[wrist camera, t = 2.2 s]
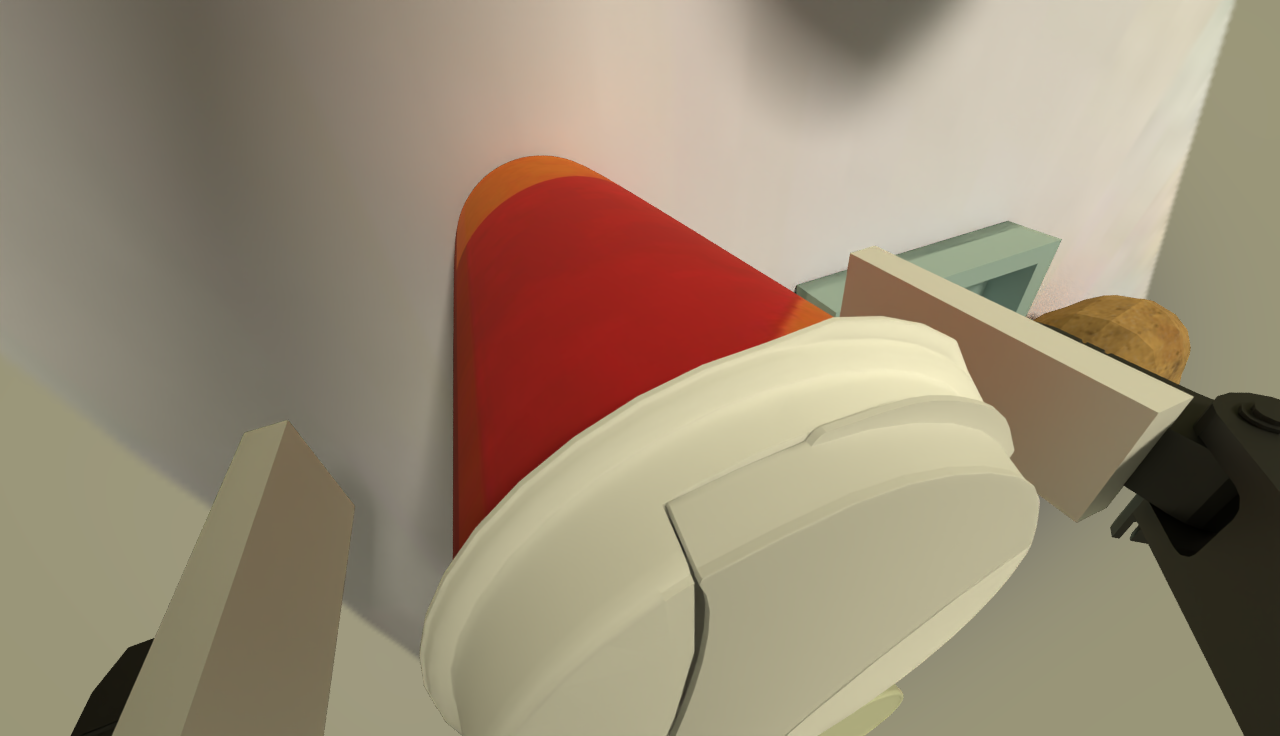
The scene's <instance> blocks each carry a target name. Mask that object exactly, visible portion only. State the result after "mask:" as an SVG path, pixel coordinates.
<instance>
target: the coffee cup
mask: <svg viewBox="0 0 1280 736" xmlns="http://www.w3.org/2000/svg"><path fill="white" fill-rule="evenodd" d="M1013 452H1014V446H1013V441H1012V437H1011V432H1010V428H1009V425H1008V423H1007V420H1006V418H1005V417H1004V416H1002V415H1001V414H1000V413H999V412H998V411H997V410H996V409H995V408H994V407H993V406H992V405H989V404H987V403H984V402H983V400H982V398H981V396H980V394H979V392H978V390H977V388H976V386H975V384H974V382H973V380H972V378H971V376H970V374H969V372H968V370H967V367H966V364H965V362H964V359H963V356H962V354H961V351H960V348H959V346H958V343H957V341H956V340H954V339H953V338H951V337H949V336H947V335H945V334H943V333H941V332H939V331H937V330H935V329H933V328H931V327H928V326H926V325H924V324H922V323H917V322H912V321H906V320H901V319H896V318H890V317H885V316H866V317H833V316H831V315H830V314H828V313H826V312H825V311H823V310H821V309H820V308H818V307H817V306H815V305H813V304H812V303H810V302H808V301H807V300H805V299H804V298H802V297H800V296H799V295H797V294H795V293H794V292H792V291H791V290H789V289H787V288H786V287H784V286H782V285H781V284H779V283H778V282H776V281H774V280H773V279H771V278H769V277H768V276H766V275H765V274H763V273H761V272H760V271H758V270H756V269H755V268H753V267H752V266H750V265H748V264H747V263H745V262H743V261H742V260H740V259H739V258H737V257H735V256H734V255H732V254H730V253H729V252H727V251H726V250H724V249H722V248H721V247H719V246H718V245H716V244H714V243H713V242H711V241H709V240H708V239H706V238H705V237H703V236H701V235H700V234H698V233H696V232H695V231H693V230H692V229H690V228H688V227H687V226H685V225H683V224H682V223H680V222H679V221H677V220H675V219H674V218H672V217H670V216H669V215H667V214H665V213H664V212H662V211H661V210H659V209H657V208H656V207H654V206H652V205H651V204H649V203H647V202H646V201H644V200H642V199H641V198H639V197H638V196H636V195H634V194H633V193H631V192H629V191H628V190H626V189H624V188H623V187H621V186H619V185H617V184H616V183H614V182H612V181H611V180H609V179H607V178H606V177H604V176H602V175H600V174H598V173H596V172H595V171H593V170H591V169H589V168H587V167H585V166H583V165H581V164H578V163H576V162H574V161H571V160H568V159H564V158H560V157H554V156H529V157H523V158H519V159H516V160H513V161H510V162H508V163H505V164H503V165H501V166H500V167H498V168H496V169H495V170H493V171H492V172H490V173H489V174H488V175H487V176H485V177H484V178H483V179H482V180H481V181H480V182H479V183H478V184H477V186H476V187H475V188H474V189H473V191H472V192H471V193H470V195H469V197H468V198H467V200H466V202H465V204H464V206H463V209H462V211H461V214H460V217H459V221H458V226H457V232H456V241H455V257H454V333H453V561H452V562H451V564H450V565H449V567H448V568H447V570H446V571H445V572H444V574H443V576H442V579H441V581H440V583H439V585H438V588H437V590H436V592H435V594H434V597H433V599H432V601H431V603H430V606H429V608H428V610H427V612H426V615H425V621H424V627H423V633H422V639H421V645H420V663H421V669H422V676H423V682H424V687H425V688H426V690H427V692H428V694H429V695H430V697H431V699H432V701H433V702H434V704H435V706H436V708H437V709H438V710H439V711H440V713H441V715H442V717H443V718H444V720H445V722H446V723H447V724H449V725H450V726H451V727H453V728H454V729H455V730H456V731H457V732H458V733H460V734H461V735H462V736H818V735H820V734H821V733H823V732H824V731H826V730H828V729H829V728H831V727H832V726H834V725H835V724H837V723H839V722H840V721H842V720H843V719H845V718H846V717H848V716H849V715H851V714H852V713H854V712H855V711H857V710H858V709H860V708H861V707H863V706H864V705H866V704H867V703H868V702H870V701H871V700H873V699H874V698H876V697H877V696H879V695H880V694H881V693H883V692H884V691H885V690H887V689H888V688H889V687H891V686H892V685H894V684H895V683H896V682H898V681H899V680H900V679H902V678H903V677H904V676H906V675H907V674H908V673H909V672H910V671H912V670H913V669H914V668H916V667H917V666H918V665H919V664H921V663H922V662H923V661H924V660H926V659H927V658H928V657H929V656H931V655H932V654H933V653H934V652H935V651H936V650H938V649H939V648H940V647H941V646H942V645H943V644H945V643H946V642H947V641H948V640H949V639H950V638H952V637H953V636H954V635H955V634H956V633H957V632H958V631H959V630H960V629H961V628H962V627H963V626H964V625H965V624H966V623H968V622H969V620H971V619H972V618H973V617H974V616H975V615H976V614H977V613H978V612H979V611H980V610H981V609H982V608H983V607H984V606H985V604H986V603H987V602H988V601H989V600H990V599H991V598H992V597H993V596H994V595H995V594H996V593H997V591H998V590H999V589H1000V588H1001V587H1002V586H1003V584H1004V583H1005V582H1006V581H1007V580H1008V578H1009V577H1010V576H1011V575H1012V573H1013V572H1014V570H1015V569H1016V568H1017V566H1018V565H1019V564H1020V562H1021V561H1022V559H1023V558H1024V557H1025V555H1026V554H1027V552H1028V550H1029V548H1030V546H1031V544H1032V541H1033V537H1034V533H1035V530H1036V526H1037V520H1038V512H1039V505H1040V500H1039V497H1038V495H1037V492H1036V489H1035V487H1034V486H1033V485H1032V484H1031V483H1030V482H1028V481H1027V480H1026V479H1025V478H1024V477H1023V476H1022V474H1021V473H1020V472H1019V470H1018V469H1017V468H1016V466H1015V465H1014V464H1013V462H1012V461H1011V459H1010V457H1011V455H1012V454H1013Z"/></svg>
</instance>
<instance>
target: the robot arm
mask: <svg viewBox="0 0 1280 736" xmlns="http://www.w3.org/2000/svg"><path fill="white" fill-rule="evenodd" d="M866 316H885V317H890V318H896V319H901V320H906V321H912V322H917V323H922V324H924V325H926V326H928V327H931V328H933V329H935V330H937V331H939V332H941V333H943V334H945V335H947V336H949V337H951V338H953V339H954V340H956V341H957V343H958V346H959V348H960V351H961V354H962V356H963V359H964V362H965V364H966V367H967V370H968V372H969V374H970V376H971V378H972V380H973V382H974V384H975V386H976V388H977V390H978V392H979V394H980V396H981V398H982V400H983V402H984V403H987V404H989V405H992V406H993V407H994V408H995V409H996V410H997V411H998V412H999V413H1000V414H1001V415H1002V416H1004V417H1005V418H1006V420H1007V423H1008V425H1009V428H1010V432H1011V437H1012V441H1013V446H1014V452H1013V454H1012V455H1011V457H1010V459H1011V461H1012V462H1013V464H1014V465H1015V466H1016V468H1017V469H1018V470H1019V472H1020V473H1021V474H1022V476H1023V477H1024V478H1025V479H1026V480H1027V481H1028V482H1030V483H1031V484H1032V485H1033V486H1034V487H1035V489H1036V492H1037V494H1039V495H1040V496H1041V497H1043V498H1044V499H1045V500H1047V501H1048V502H1049V503H1051V504H1052V505H1053V506H1055V507H1056V508H1057V509H1059V510H1060V511H1061V512H1063V513H1064V514H1065V515H1067V516H1068V517H1069V518H1071V519H1072V520H1073V521H1075V522H1076V523H1077V522H1079V521H1081V520H1083V519H1085V518H1087V517H1089V516H1091V515H1093V514H1095V513H1097V512H1099V511H1101V510H1103V509H1105V508H1107V507H1108V505H1109V504H1110V503H1111V501H1112V500H1113V499H1114V498H1115V496H1116V495H1117V494H1118V492H1119V491H1120V490H1121V489H1122V487H1123V486H1125V487H1127V488H1128V489H1130V490H1132V491H1133V492H1135V493H1136V495H1135V497H1134V498H1133V499H1132V500H1131V501H1130V503H1129V504H1128V505H1127V506H1126V508H1125V509H1124V510H1123V511H1122V512H1121V514H1120V515H1119V516H1118V517H1117V519H1116V520H1115V521H1114V523H1113V524H1112V526H1111V527H1110V528H1111V534H1112V537H1115V538H1120V537H1121V536H1122V535H1123V534H1124V533H1125V531H1126V530H1127V529H1128V528H1129V527H1130V526H1131V525H1132V523H1133V522H1137V523H1138V524H1139V525H1138V527H1137V528H1136V529H1135V530H1134V531H1133V532H1132V534H1131V537H1130V540H1131V541H1135V542H1141V543H1146V544H1149V546H1150V548H1151V550H1152V552H1153V554H1154V556H1155V558H1156V560H1157V562H1158V564H1159V566H1160V568H1161V570H1162V572H1163V574H1164V576H1165V578H1166V580H1167V582H1168V584H1169V586H1170V588H1171V590H1172V592H1173V594H1174V596H1175V598H1176V600H1177V602H1178V604H1179V606H1180V608H1181V610H1182V612H1183V614H1184V616H1185V618H1186V620H1187V622H1188V624H1189V626H1190V628H1191V630H1192V632H1193V634H1194V636H1195V638H1196V640H1197V642H1198V644H1199V646H1200V648H1201V650H1202V652H1203V654H1204V656H1205V658H1206V660H1207V662H1208V664H1209V666H1210V668H1211V670H1212V672H1213V674H1214V676H1215V678H1216V680H1217V682H1218V684H1219V686H1220V688H1221V690H1222V692H1223V694H1224V696H1225V698H1226V700H1227V702H1228V704H1229V706H1230V708H1231V710H1232V712H1233V714H1234V716H1235V718H1236V720H1237V722H1238V724H1239V726H1240V728H1241V730H1242V732H1243V734H1244V736H1280V400H1279V399H1276V398H1273V397H1269V396H1263V395H1258V394H1252V393H1227V394H1224V395H1220V396H1217V397H1216V399H1215V400H1213V399H1210V398H1208V397H1205V396H1203V395H1200V394H1198V393H1196V392H1193V391H1191V390H1189V389H1187V388H1185V387H1183V386H1181V385H1178V384H1176V383H1174V382H1172V381H1170V380H1168V379H1166V378H1163V377H1161V376H1159V375H1157V374H1155V373H1153V372H1151V371H1149V370H1146V369H1144V368H1142V367H1140V366H1138V365H1136V364H1134V363H1131V362H1129V361H1127V360H1125V359H1123V358H1121V357H1119V356H1116V355H1114V354H1112V353H1110V354H1106V353H1105V350H1104V349H1101V348H1099V347H1097V346H1095V345H1093V344H1091V343H1089V342H1087V343H1083V342H1082V339H1080V338H1078V337H1076V336H1074V335H1071V334H1069V333H1067V332H1065V331H1063V330H1061V329H1059V328H1056V327H1054V326H1050V325H1047V324H1043V323H1040V322H1036V321H1033V320H1031V319H1029V318H1026V317H1024V316H1022V315H1020V314H1018V313H1016V312H1014V311H1012V310H1010V309H1007V308H1005V307H1003V306H1001V305H999V304H997V303H995V302H993V301H991V300H988V299H986V298H984V297H982V296H980V295H978V294H976V293H974V292H972V291H969V290H967V289H965V288H963V287H961V286H959V285H957V284H955V283H953V282H950V281H948V280H946V279H944V278H942V277H940V276H938V275H936V274H934V273H931V272H929V271H927V270H925V269H923V268H921V267H919V266H917V265H915V264H912V263H910V262H908V261H906V260H904V259H902V258H900V257H898V256H895V255H893V254H891V253H889V252H887V251H885V250H883V249H881V248H879V247H876V246H873V247H869V248H866V249H863V250H859V251H856V252H852V253H850V257H849V263H848V269H847V275H846V281H845V287H844V293H843V300H842V306H841V312H840V317H866ZM354 510H355V506H354V504H353V503H352V502H351V501H350V499H349V498H348V497H347V495H346V494H345V493H344V491H343V490H342V489H341V488H340V486H339V485H338V484H337V482H336V481H335V480H334V479H333V477H332V476H331V475H330V473H329V472H328V471H327V470H326V468H325V467H324V466H323V464H322V463H321V462H320V461H319V459H318V458H317V457H316V455H315V454H314V453H313V451H312V450H311V449H310V448H309V446H308V445H307V444H306V442H305V441H304V440H303V439H302V437H301V436H300V435H299V433H298V432H297V431H296V430H295V428H294V427H293V426H292V424H291V423H290V422H289V421H288V420H286V421H282V422H279V423H275V424H272V425H269V426H265V427H262V428H259V429H255V430H252V431H248V432H245V433H244V435H243V437H242V439H241V442H240V444H239V446H238V448H237V451H236V453H235V455H234V458H233V460H232V462H231V464H230V467H229V469H228V471H227V474H226V476H225V478H224V480H223V483H222V485H221V487H220V490H219V492H218V494H217V496H216V499H215V501H214V503H213V506H212V508H211V510H210V513H209V515H208V517H207V519H206V522H205V524H204V526H203V529H202V531H201V533H200V536H199V538H198V540H197V542H196V545H195V547H194V549H193V551H192V554H191V556H190V559H189V561H188V563H187V565H186V567H185V570H184V572H183V574H182V577H181V579H180V581H179V583H178V586H177V589H176V590H175V593H174V595H173V597H172V599H171V602H170V604H169V606H168V609H167V611H166V613H165V615H164V618H163V620H162V622H161V625H160V627H159V629H158V631H157V634H156V636H155V638H153V639H150V640H148V641H145V642H142V643H139V644H137V645H134V646H131V647H129V648H128V649H127V650H126V651H125V652H124V654H123V655H122V656H121V657H120V659H119V660H118V661H117V663H116V664H115V665H114V666H113V667H112V668H111V670H110V671H109V672H108V673H107V675H106V676H105V677H104V678H103V680H102V681H101V682H100V683H99V685H98V686H97V687H96V688H95V690H94V691H93V692H92V694H91V696H90V698H89V700H88V702H87V704H86V706H85V708H84V710H83V712H82V714H81V716H80V718H79V720H78V722H77V724H76V726H75V728H74V730H73V732H72V734H71V736H324V729H325V722H326V714H327V707H328V699H329V693H330V685H331V678H332V670H333V663H334V656H335V648H336V641H337V634H338V627H339V619H340V612H341V605H342V598H343V590H344V583H345V576H346V568H347V561H348V554H349V547H350V539H351V532H352V525H353V517H354Z"/></svg>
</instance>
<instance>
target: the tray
mask: <svg viewBox="0 0 1280 736" xmlns="http://www.w3.org/2000/svg"><path fill="white" fill-rule="evenodd" d="M1061 240H1062V239H1059V238H1056V237H1053V236H1050V235H1047V234H1044V233H1042V232H1039V231H1036V230H1033V229H1030V228H1027V227H1024V226H1021V225H1018V224H1015V223H1012V222H1010V221H1006V222H1003V223H1000V224H996V225H993V226H990V227H986V228H983V229H980V230H977V231H973V232H970V233H967V234H963V235H960V236H957V237H954V238H950V239H947V240H944V241H940V242H937V243H934V244H931V245H927V246H924V247H921V248H917V249H914V250H911V251H907V252H904V253H901V254H898V255H895V256H898V257H900V258H902V259H904V260H906V261H908V262H910V263H912V264H915V265H917V266H919V267H921V268H923V269H925V270H927V271H929V272H931V273H934V274H936V275H938V276H940V277H942V278H944V279H946V280H948V281H950V282H953V283H955V284H957V285H959V286H961V287H963V288H965V289H967V290H969V291H972V292H974V293H976V294H978V295H980V296H982V297H984V298H986V299H988V300H991V301H993V302H995V303H997V304H999V305H1001V306H1003V307H1005V308H1007V309H1010V310H1012V311H1014V312H1016V313H1018V314H1020V315H1022V316H1024V317H1026V315H1027V313H1028V311H1029V309H1030V307H1031V305H1032V302H1033V300H1034V298H1035V296H1036V294H1037V292H1038V290H1039V287H1040V285H1041V283H1042V281H1043V279H1044V277H1045V275H1046V272H1047V270H1048V268H1049V266H1050V264H1051V262H1052V260H1053V257H1054V255H1055V253H1056V251H1057V249H1058V247H1059V244H1060V242H1061ZM846 275H847V270H845V271H842V272H838V273H835V274H832V275H828V276H825V277H822V278H819V279H815V280H812V281H809V282H805V283H802V284H799V285H797V289H796V294H797V295H799V296H800V297H802V298H804V299H805V300H807V301H808V302H810V303H812V304H813V305H815V306H817V307H818V308H820V309H821V310H823V311H825V312H826V313H828V314H830V315H831V316H833V317H840V312H841V306H842V300H843V293H844V287H845V281H846Z"/></svg>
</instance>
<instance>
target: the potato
mask: <svg viewBox="0 0 1280 736" xmlns="http://www.w3.org/2000/svg"><path fill="white" fill-rule="evenodd" d="M1033 321H1036V322H1040V323H1043V324H1047V325H1050V326H1054V327H1056V328H1059V329H1061V330H1063V331H1065V332H1067V333H1069V334H1071V335H1074V336H1076V337H1078V338H1080V339H1082V342H1083V343H1087V342H1089V343H1091V344H1093V345H1095V346H1097V347H1099V348H1101V349H1104V350H1105V353H1106V354H1110V353H1112V354H1114V355H1116V356H1119V357H1121V358H1123V359H1125V360H1127V361H1129V362H1131V363H1134V364H1136V365H1138V366H1140V367H1142V368H1144V369H1146V370H1149V371H1151V372H1153V373H1155V374H1157V375H1159V376H1161V377H1163V378H1166V379H1168V380H1170V381H1172V382H1174V383H1176V384H1178V385H1179V383H1180V379H1181V374H1182V372H1183V370H1184V368H1185V365H1186V362H1187V360H1188V357H1189V355H1190V348H1191V347H1190V342H1189V336H1188V331H1187V329H1186V328H1185V326H1184V325H1183V324H1182V322H1181V321H1180V320H1179V319H1178V317H1177V316H1176V315H1175V314H1174V313H1172V312H1170V311H1169V310H1167V309H1165V308H1164V307H1162V306H1160V305H1159V304H1157V303H1156V302H1154V301H1150V300H1146V299H1137V298H1131V297H1124V296H1118V295H1110V296H1100V297H1096V298H1091V299H1086V300H1083V301H1080V302H1078V303H1075V304H1073V305H1070V306H1068V307H1065V308H1062V309H1058V310H1055V311H1052V312H1048V313H1045V314H1043V315H1041V316H1040V317H1038V318H1036V319H1035V320H1033Z"/></svg>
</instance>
